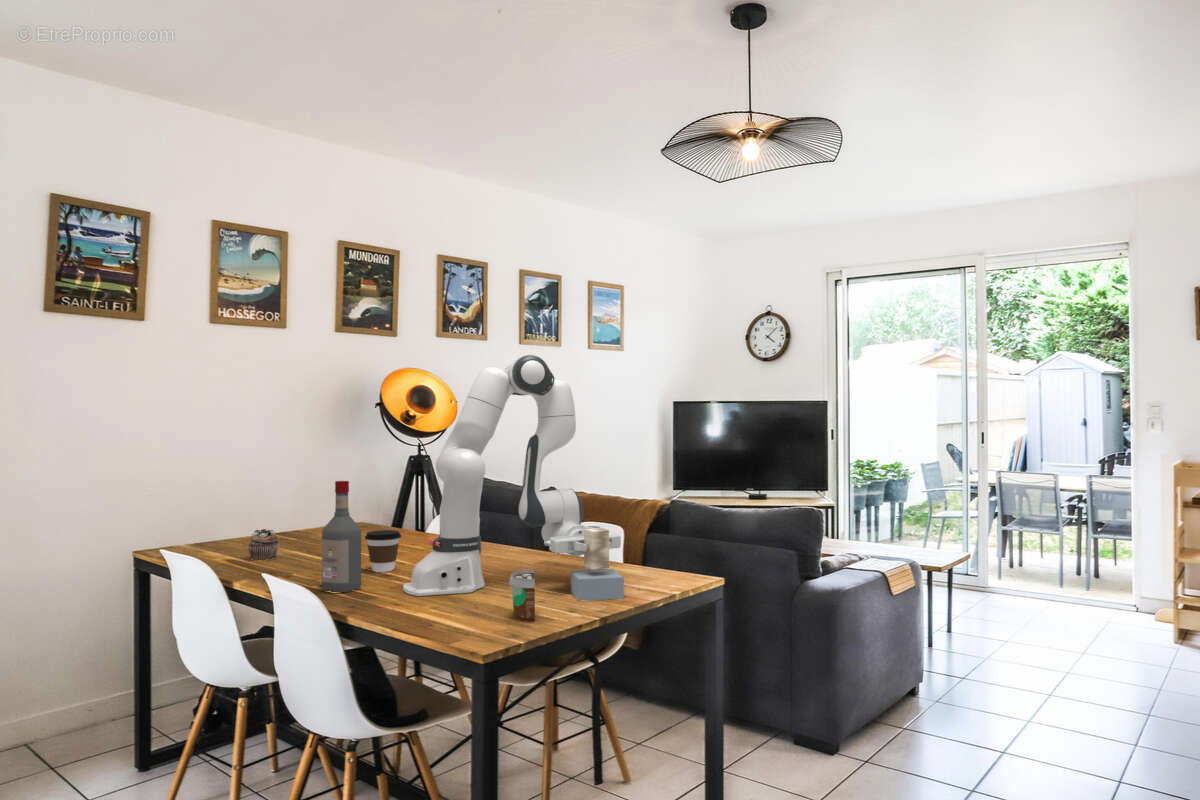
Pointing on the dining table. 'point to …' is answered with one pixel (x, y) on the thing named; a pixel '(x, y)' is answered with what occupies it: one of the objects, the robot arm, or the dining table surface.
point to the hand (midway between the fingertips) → (598, 547)
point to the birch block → (596, 548)
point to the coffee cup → (383, 549)
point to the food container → (523, 594)
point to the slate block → (597, 584)
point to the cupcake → (263, 545)
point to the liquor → (341, 547)
